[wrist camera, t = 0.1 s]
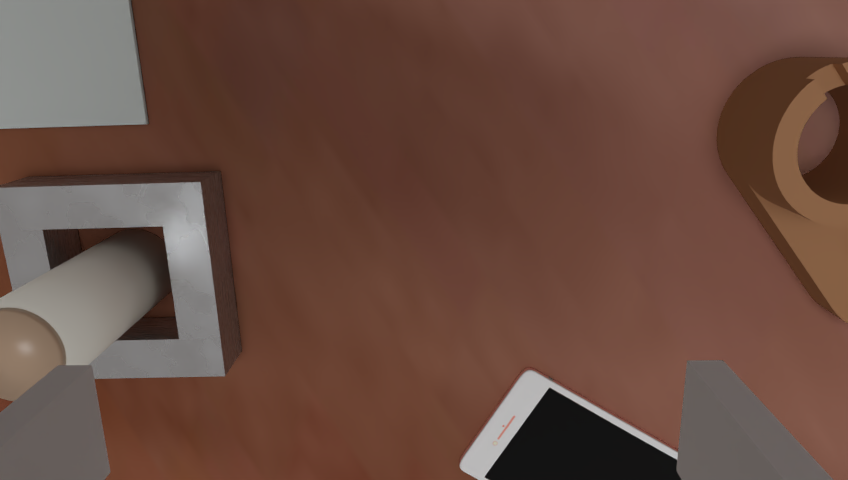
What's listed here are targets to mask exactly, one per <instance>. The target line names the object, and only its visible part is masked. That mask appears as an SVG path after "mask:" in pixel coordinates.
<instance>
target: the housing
mask: <svg viewBox="0 0 848 480" xmlns="http://www.w3.org/2000/svg"><path fill="white" fill-rule="evenodd" d="M161 226H163V232H164V239H165V245H166V252H167V259H168V266H169V273H170V280H171V287H172V293H173V300H174V307H175V314H176V317H165V318H141V319H139V320H138V321H137V322H136V323H135V324H134V325H133V326H132V327H130V328H129V329H128V330H127V331H126V332H125V333H124V334H123V335H121V336H120V337H119V338H118V339H117V340H116V341H115V342H114V343H112V344H111V345H110V346H109V347H108V348H107V349H106V350H105V351H103V352H102V353H101V354H100V355H99V356H98V357H97V358H96V359H94V360H93V361H92V362H91V363H90V364H89V365H92V369H93V374H94V379H103V378H155V377H206V376H226V374H227V373H228V371H229V370H230V368H231V367H232V365H233V364H234V362H235V361H236V359H237V358H238V356H239V355H240V353H241V352H242V349H241V340H240V332H239V323H238V315H237V306H236V298H235V289H234V281H233V272H232V264H231V255H230V247H229V239H228V230H227V222H226V213H225V205H224V196H223V188H222V179H221V171H213V172H178V173H143V174H109V175H74V176H39V177H26V178H22V179H19V180H16V181H12V182H9V183H6V184H2V185H0V234H1V239H2V244H3V248H4V253H5V257H6V262H7V267H8V271H9V276H10V281H11V285H12V290H13V291H14V290H16V289H17V288H19V287H21V286H23V285H25V284H26V283H28V282H30V281H32V280H34V279H35V278H37V277H39V276H41V275H43V274H44V273H46V272H48V271H50V270H52V269H53V268H55V267H57V266H59V265H61V264H62V263H64V262H66V261H68V260H69V259H71V258H73V257H75V256H77V255H78V254H80V253H82V251H81V246H80V240H79V235H78V229H85V228H123V227H161Z"/></svg>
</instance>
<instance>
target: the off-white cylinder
mask: <svg viewBox="0 0 848 480" xmlns="http://www.w3.org/2000/svg"><path fill="white" fill-rule="evenodd" d="M171 290H172V287H171V280H170V273H169V266H168V259H167V252H166V245H165V242H164V241H163V240H162V239H161V238H159V237H158V236H156V235H154V234H153V233H150V232H148V231H144V230H139V229H128V230H123V231H120V232H118V233H116V234H114V235H113V236H111V237H109V238H107V239H105V240H104V241H102V242H100V243H98V244H96V245H95V246H93V247H91V248H89V249H87V250H86V251H84V252H82V253H80V254H78V255H77V256H75V257H73V258H71V259H69V260H68V261H66V262H64V263H62V264H61V265H59V266H57V267H55V268H53V269H52V270H50V271H48V272H46V273H44V274H43V275H41V276H39V277H37V278H35V279H34V280H32V281H30V282H28V283H26V284H25V285H23V286H21V287H19V288H17V289H16V290H14V291H12V292H10V293H9V294H7V295H5V296H3V297H1V298H0V398H2V399H6V400H10V401H15V400H16V399H17V398H19V397H20V396H21V395H22V394H24V393H25V392H26V391H27V390H28V389H30V388H31V387H32V386H33V385H35V384H36V383H37V382H38V381H39V380H41V379H42V378H43V377H44V376H46V375H47V374H48V373H49V372H50V371H52V370H53V369H54V368H55V367H57V366H58V365H89V364H90V363H91V362H92V361H93V360H94V359H96V358H97V357H98V356H99V355H100V354H101V353H102V352H103V351H105V350H106V349H107V348H108V347H109V346H110V345H111V344H112V343H114V342H115V341H116V340H117V339H118V338H119V337H120V336H121V335H123V334H124V333H125V332H126V331H127V330H128V329H129V328H130V327H132V326H133V325H134V324H135V323H136V322H137V321H138V320H139V319H141V318H142V317H143V316H144V315H145V314H146V313H147V312H148V311H150V310H151V309H152V308H153V307H154V306H155V305H156V304H157V303H159V302H160V301H161V300H162V299H163V298H164V297H165V296H166V295H168V294H169V293H170V291H171Z"/></svg>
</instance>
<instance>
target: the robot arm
mask: <svg viewBox="0 0 848 480" xmlns="http://www.w3.org/2000/svg"><path fill="white" fill-rule="evenodd" d="M676 471H677V473H678V474H679V476H680V478H681V480H833V479H832V478H831V477H830V476H829V475H828V473H827V472H826V471H825V470H824V469H823V468H822V467H821V466H820V465H819V464H818V463H817V462H816V461H815V459H814V458H813V457H812V456H811V455H810V454H809V453H808V452H807V451H806V450H805V449H804V448H803V446H802V445H801V444H800V443H799V442H798V441H797V440H796V439H795V438H794V437H793V436H792V435H791V433H790V432H789V431H788V430H787V429H786V428H785V427H784V426H783V425H782V424H781V423H780V422H779V421H778V419H777V418H776V417H775V416H774V415H773V414H772V413H771V412H770V411H769V410H768V409H767V408H766V406H765V405H764V404H763V403H762V402H761V401H760V400H759V399H758V398H757V397H756V396H755V395H754V394H753V392H752V391H751V390H750V389H749V388H748V387H747V386H746V385H745V384H744V383H743V382H742V381H741V379H740V378H739V377H738V376H737V375H736V374H735V373H734V372H733V371H732V370H731V369H730V368H729V367H728V365H727V364H726V363H725V362H724V361H723V360H706V361H687V368H686V378H685V388H684V398H683V408H682V418H681V428H680V438H679V448H678V458H677V468H676ZM109 473H110V467H109V461H108V456H107V450H106V444H105V438H104V432H103V427H102V421H101V415H100V409H99V403H98V398H97V392H96V386H95V380H94V374H93V369H92V365H58V366H57V367H55V368H54V369H53V370H52V371H50V372H49V373H48V374H47V375H46V376H44V377H43V378H42V379H41V380H39V381H38V382H37V383H36V384H35V385H33V386H32V387H31V388H30V389H28V390H27V391H26V392H25V393H24V394H22V395H21V396H20V397H19V398H17V399H16V400H15V401H14V402H13V403H11V404H10V405H9V406H8V407H6V408H5V409H4V410H3V411H2V412H0V480H105V478H106V477H107V476H108V475H109Z"/></svg>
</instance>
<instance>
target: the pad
mask: <svg viewBox="0 0 848 480" xmlns="http://www.w3.org/2000/svg"><path fill="white" fill-rule="evenodd" d="M137 124H149V122H148V115H147V108H146V102H145V95H144V88H143V81H142V74H141V67H140V60H139V53H138V47H137V40H136V33H135V26H134V19H133V12H132V5H131V0H0V129H8V128H40V127H73V126H105V125H137Z"/></svg>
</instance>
